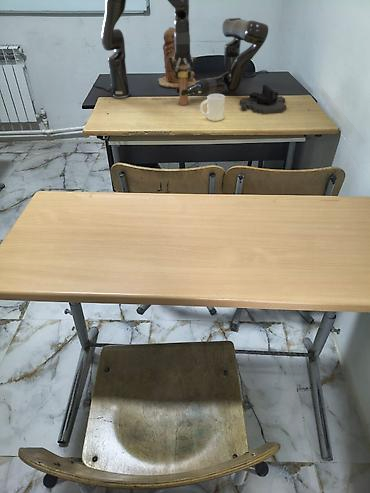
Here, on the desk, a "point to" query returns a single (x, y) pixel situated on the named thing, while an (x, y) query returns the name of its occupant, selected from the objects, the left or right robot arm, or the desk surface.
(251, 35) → the right robot arm
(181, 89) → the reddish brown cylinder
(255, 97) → the abstract sculpture
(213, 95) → the mug
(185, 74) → the lid
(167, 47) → the sculpture
